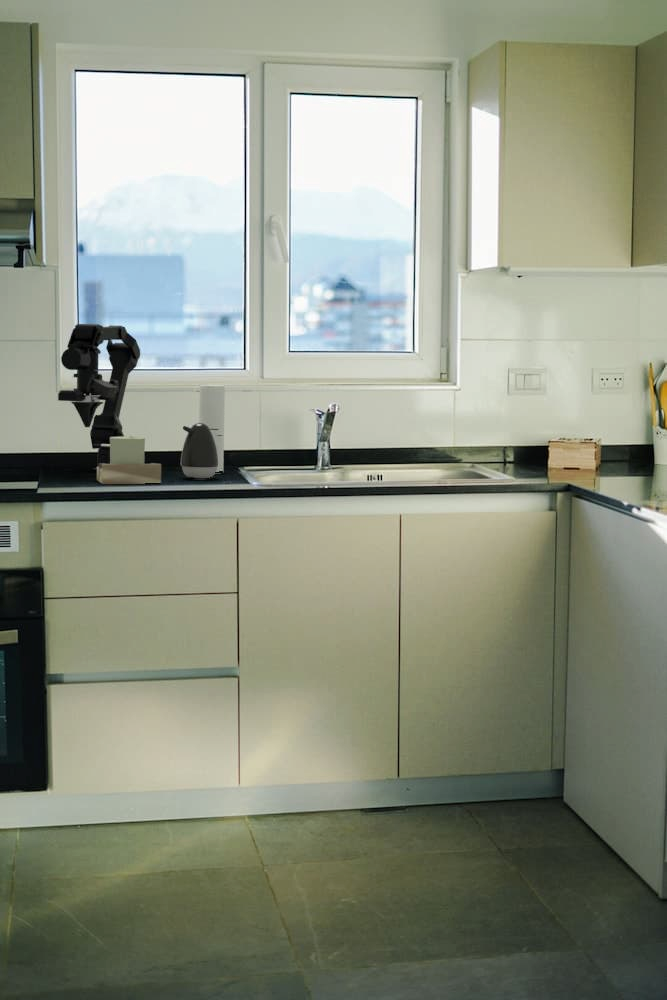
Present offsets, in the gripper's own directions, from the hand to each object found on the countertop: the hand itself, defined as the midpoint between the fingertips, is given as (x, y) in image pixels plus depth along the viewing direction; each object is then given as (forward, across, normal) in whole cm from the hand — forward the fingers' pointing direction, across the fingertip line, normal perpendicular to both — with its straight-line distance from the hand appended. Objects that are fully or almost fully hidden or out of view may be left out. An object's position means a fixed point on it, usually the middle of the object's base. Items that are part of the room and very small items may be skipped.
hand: (87, 427), depth 336 cm
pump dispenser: (+13, +10, -30) cm, 34 cm away
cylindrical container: (+13, +29, -22) cm, 39 cm away
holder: (+13, -10, -21) cm, 27 cm away
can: (+13, -10, -20) cm, 26 cm away
